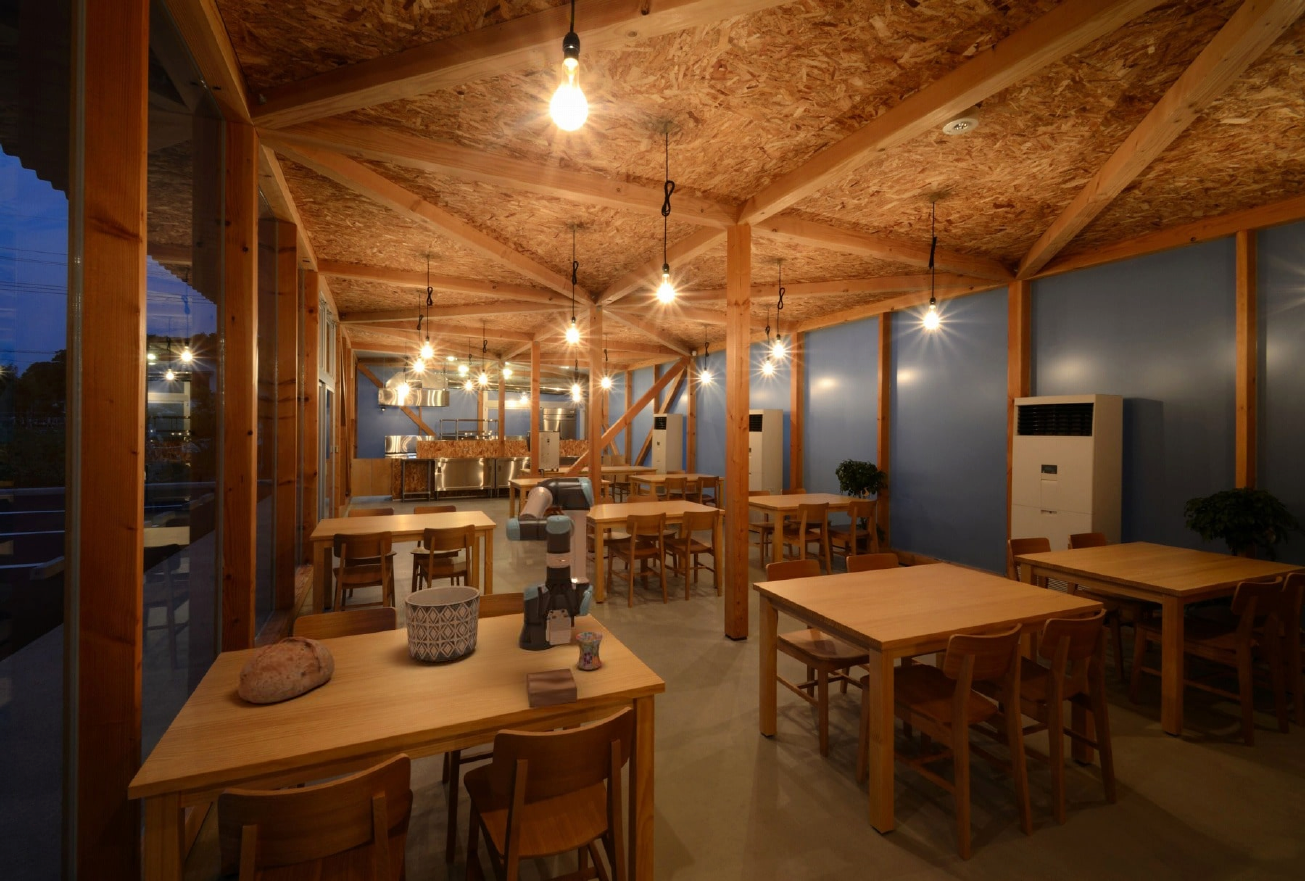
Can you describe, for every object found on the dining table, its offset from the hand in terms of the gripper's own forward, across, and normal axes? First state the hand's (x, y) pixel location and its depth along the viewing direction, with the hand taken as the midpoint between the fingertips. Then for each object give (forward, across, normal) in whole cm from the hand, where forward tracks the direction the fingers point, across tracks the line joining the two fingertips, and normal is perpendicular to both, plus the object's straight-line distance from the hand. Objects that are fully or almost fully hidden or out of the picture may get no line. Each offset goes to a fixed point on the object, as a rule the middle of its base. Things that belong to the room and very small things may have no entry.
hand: (558, 638), depth 175 cm
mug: (+17, +13, +18) cm, 28 cm away
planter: (+17, -36, +44) cm, 59 cm away
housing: (0, 0, 0) cm, 0 cm away
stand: (+17, -2, 0) cm, 17 cm away
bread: (+17, -82, +30) cm, 90 cm away
